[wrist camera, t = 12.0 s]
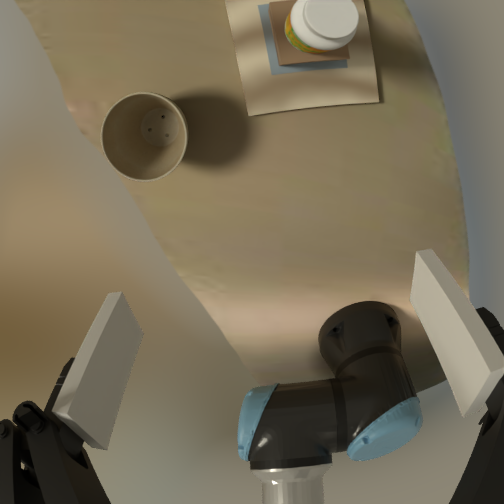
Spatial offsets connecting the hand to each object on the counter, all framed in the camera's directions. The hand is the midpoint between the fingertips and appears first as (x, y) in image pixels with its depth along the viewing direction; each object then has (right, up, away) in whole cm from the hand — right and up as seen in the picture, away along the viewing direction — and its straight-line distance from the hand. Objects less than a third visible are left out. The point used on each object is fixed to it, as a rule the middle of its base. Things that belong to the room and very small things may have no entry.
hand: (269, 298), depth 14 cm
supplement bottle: (+5, +24, +12) cm, 27 cm away
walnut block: (+5, +26, +16) cm, 31 cm away
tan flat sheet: (+5, +27, +17) cm, 32 cm away
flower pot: (-12, +18, +23) cm, 32 cm away
